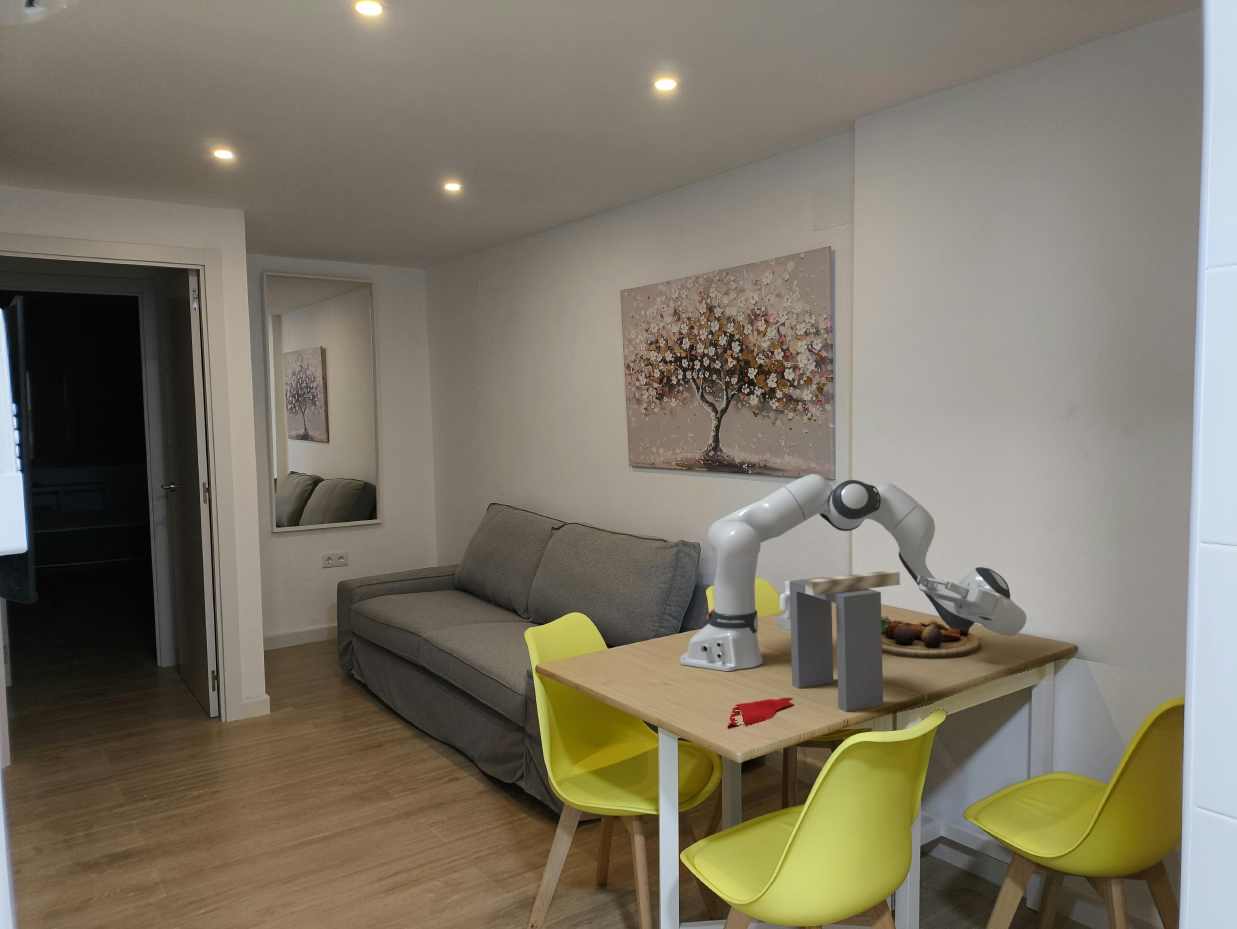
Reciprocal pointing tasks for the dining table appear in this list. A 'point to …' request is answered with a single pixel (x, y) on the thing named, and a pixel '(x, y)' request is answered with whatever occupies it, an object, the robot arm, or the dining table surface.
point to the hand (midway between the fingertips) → (933, 581)
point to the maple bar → (852, 582)
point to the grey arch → (838, 643)
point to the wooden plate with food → (926, 639)
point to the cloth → (758, 710)
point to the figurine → (785, 608)
